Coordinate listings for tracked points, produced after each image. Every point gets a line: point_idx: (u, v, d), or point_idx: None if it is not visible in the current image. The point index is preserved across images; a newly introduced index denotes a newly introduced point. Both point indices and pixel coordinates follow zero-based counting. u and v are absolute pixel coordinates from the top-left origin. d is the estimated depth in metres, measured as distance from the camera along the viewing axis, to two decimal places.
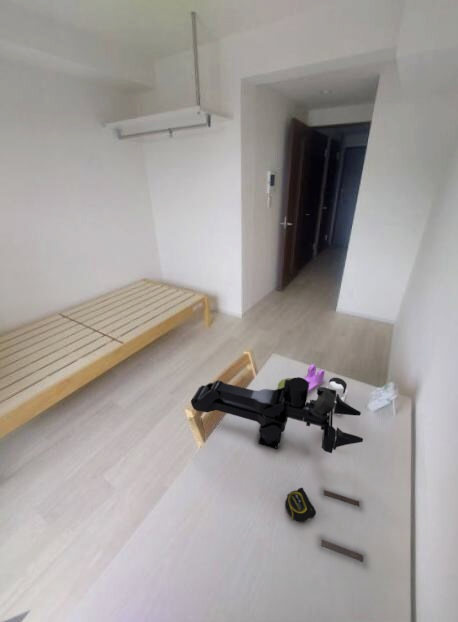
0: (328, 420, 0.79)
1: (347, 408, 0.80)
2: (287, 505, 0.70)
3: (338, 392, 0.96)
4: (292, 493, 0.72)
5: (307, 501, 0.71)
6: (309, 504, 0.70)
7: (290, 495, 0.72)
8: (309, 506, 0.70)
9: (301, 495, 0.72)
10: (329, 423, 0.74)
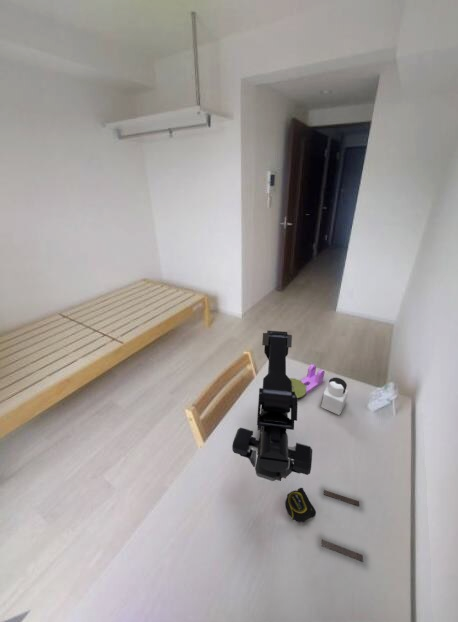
0: None
1: (287, 469, 0.66)
2: (287, 505, 0.70)
3: (338, 392, 0.96)
4: (292, 493, 0.72)
5: (307, 501, 0.71)
6: (309, 504, 0.70)
7: (290, 495, 0.72)
8: (309, 506, 0.70)
9: (301, 495, 0.72)
10: (258, 451, 0.65)
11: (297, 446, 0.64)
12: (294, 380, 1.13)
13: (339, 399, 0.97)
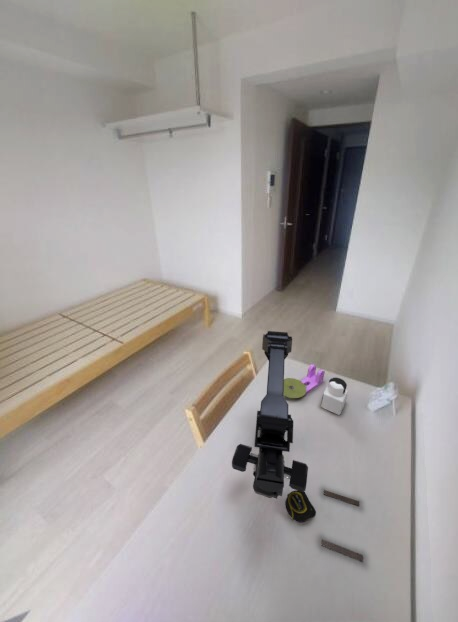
0: None
1: None
2: (287, 505, 0.70)
3: (338, 392, 0.96)
4: (292, 493, 0.72)
5: (307, 501, 0.71)
6: (309, 504, 0.70)
7: (290, 495, 0.72)
8: (309, 506, 0.70)
9: (301, 495, 0.72)
10: None
11: (293, 464, 0.68)
12: (294, 380, 1.13)
13: (339, 399, 0.97)
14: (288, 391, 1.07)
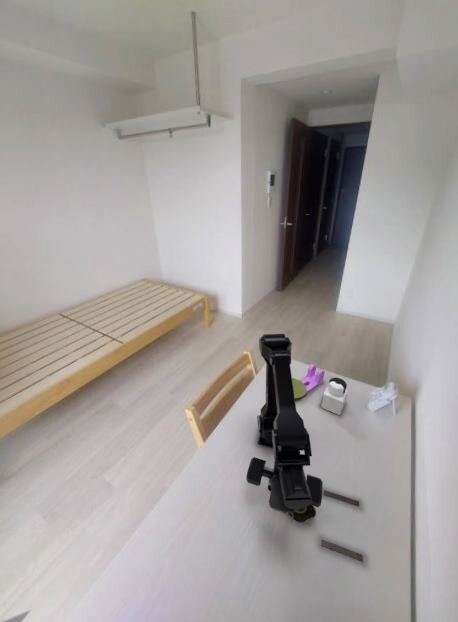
0: None
1: None
2: None
3: (338, 392, 0.96)
4: None
5: None
6: None
7: None
8: (309, 506, 0.70)
9: None
10: None
11: (308, 478, 0.68)
12: (294, 380, 1.13)
13: (339, 399, 0.97)
14: None
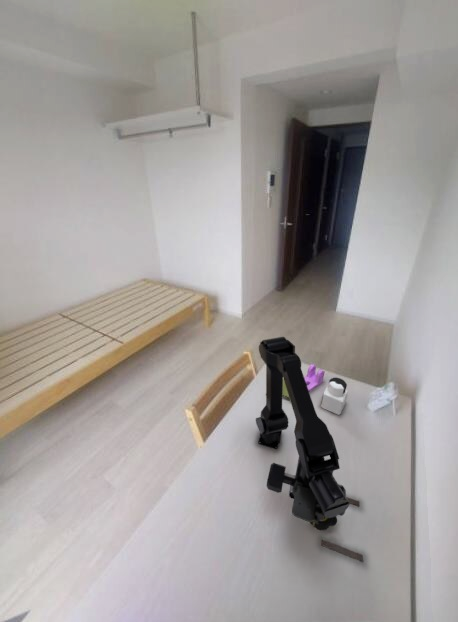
0: None
1: None
2: None
3: (338, 392, 0.96)
4: None
5: None
6: None
7: None
8: None
9: None
10: None
11: None
12: None
13: (339, 399, 0.97)
14: None
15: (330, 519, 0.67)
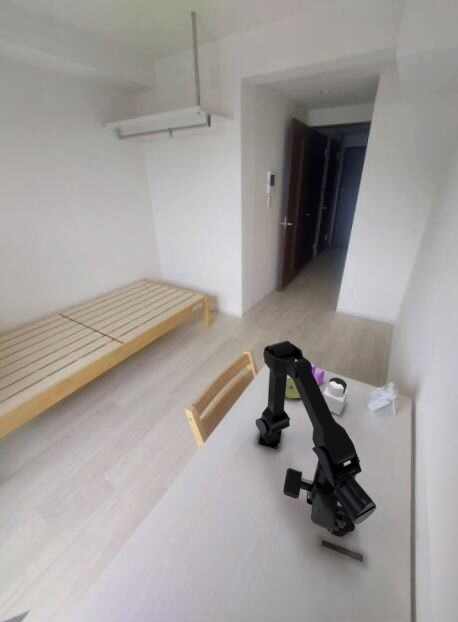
0: (303, 482, 0.68)
1: None
2: None
3: (338, 392, 0.96)
4: None
5: (345, 514, 0.68)
6: (348, 518, 0.67)
7: None
8: (348, 519, 0.67)
9: None
10: None
11: None
12: None
13: (339, 399, 0.97)
14: (288, 391, 1.07)
15: (348, 525, 0.66)
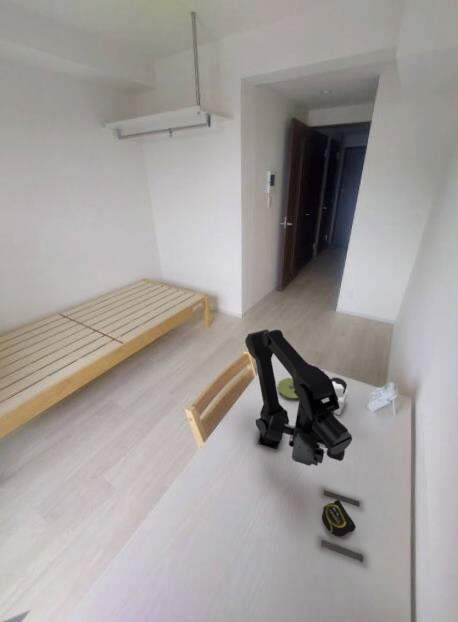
0: None
1: None
2: (325, 519, 0.67)
3: (338, 392, 0.96)
4: (329, 506, 0.70)
5: (345, 514, 0.68)
6: (348, 518, 0.67)
7: (327, 508, 0.69)
8: (348, 519, 0.67)
9: (339, 508, 0.69)
10: None
11: None
12: None
13: (339, 399, 0.97)
14: (288, 391, 1.07)
15: (348, 525, 0.66)
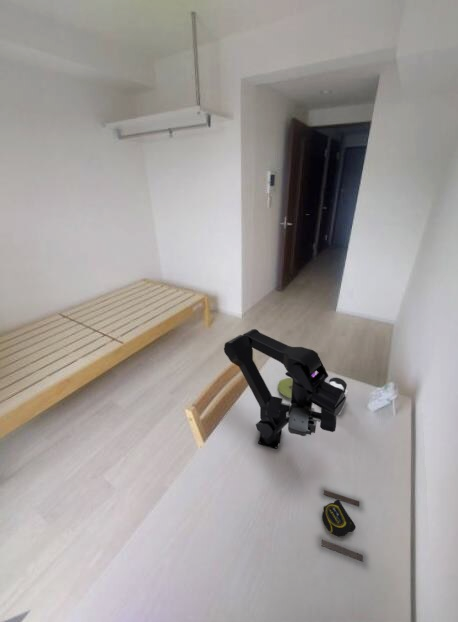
0: None
1: None
2: (325, 519, 0.67)
3: None
4: (329, 506, 0.70)
5: (345, 514, 0.68)
6: (348, 518, 0.67)
7: (327, 508, 0.69)
8: (348, 520, 0.67)
9: (339, 508, 0.69)
10: None
11: (323, 409, 0.74)
12: None
13: None
14: (288, 391, 1.07)
15: (348, 525, 0.66)
